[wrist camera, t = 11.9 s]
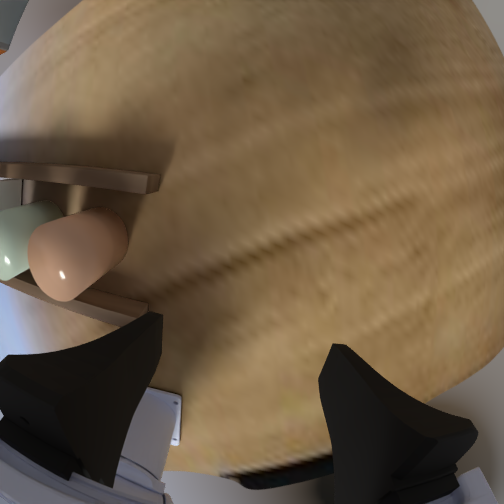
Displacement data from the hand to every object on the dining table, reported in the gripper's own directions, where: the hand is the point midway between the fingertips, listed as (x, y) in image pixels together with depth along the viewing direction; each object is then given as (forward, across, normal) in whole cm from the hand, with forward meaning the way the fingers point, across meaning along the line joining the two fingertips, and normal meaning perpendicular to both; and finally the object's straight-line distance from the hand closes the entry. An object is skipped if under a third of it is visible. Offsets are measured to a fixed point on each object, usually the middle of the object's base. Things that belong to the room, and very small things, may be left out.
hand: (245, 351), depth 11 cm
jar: (+10, +12, 0) cm, 16 cm away
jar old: (+10, +18, 0) cm, 21 cm away
